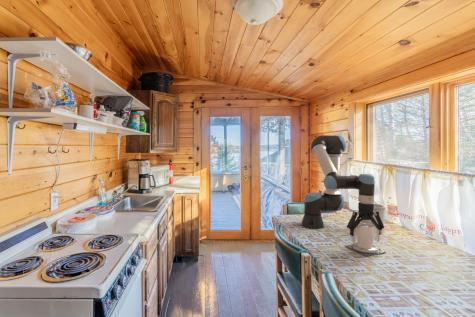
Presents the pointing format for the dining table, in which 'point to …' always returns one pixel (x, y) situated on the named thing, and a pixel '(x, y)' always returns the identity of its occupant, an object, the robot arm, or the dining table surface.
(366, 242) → the cup
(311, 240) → the dining table surface
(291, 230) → the dining table surface
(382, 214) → the utensil holder
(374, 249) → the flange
